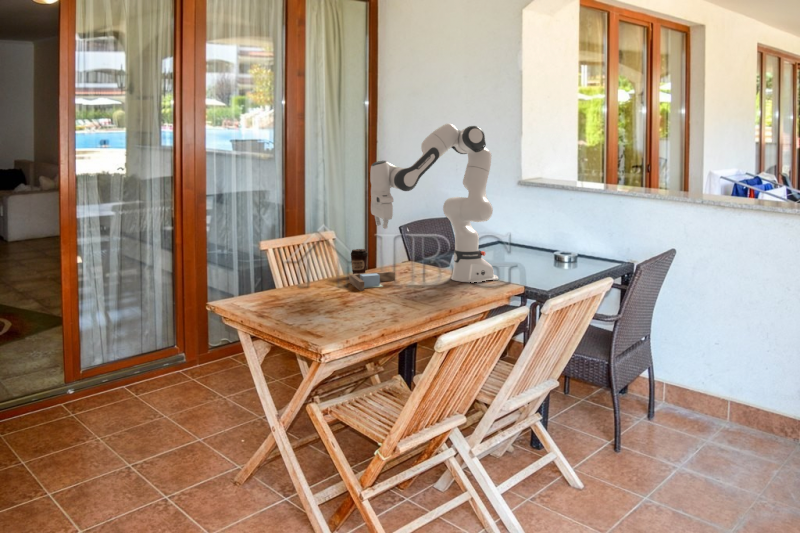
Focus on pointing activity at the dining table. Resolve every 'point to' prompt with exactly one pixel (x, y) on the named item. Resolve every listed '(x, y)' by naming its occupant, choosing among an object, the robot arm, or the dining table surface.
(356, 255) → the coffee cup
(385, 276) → the brown l-shaped corner fence
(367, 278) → the block
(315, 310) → the dining table surface
